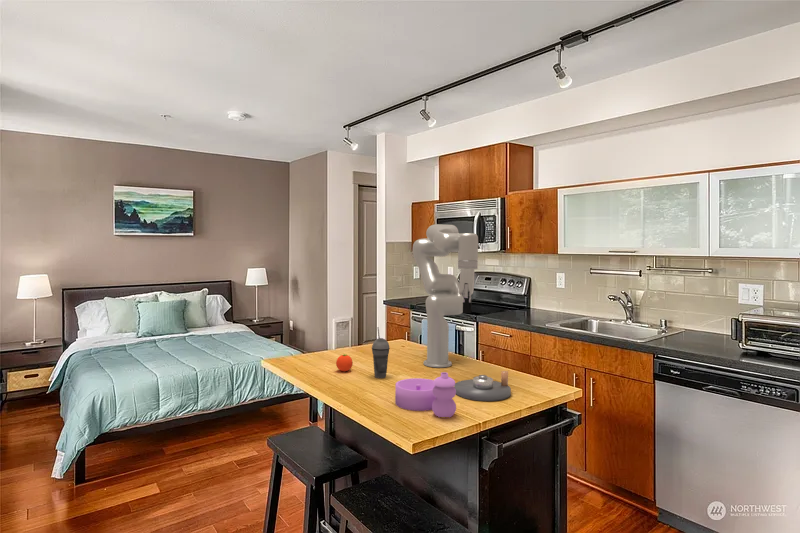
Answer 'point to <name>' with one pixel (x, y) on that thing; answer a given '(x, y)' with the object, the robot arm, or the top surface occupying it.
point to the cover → (483, 382)
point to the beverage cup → (380, 356)
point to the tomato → (344, 363)
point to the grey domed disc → (494, 394)
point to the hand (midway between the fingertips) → (467, 312)
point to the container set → (427, 395)
